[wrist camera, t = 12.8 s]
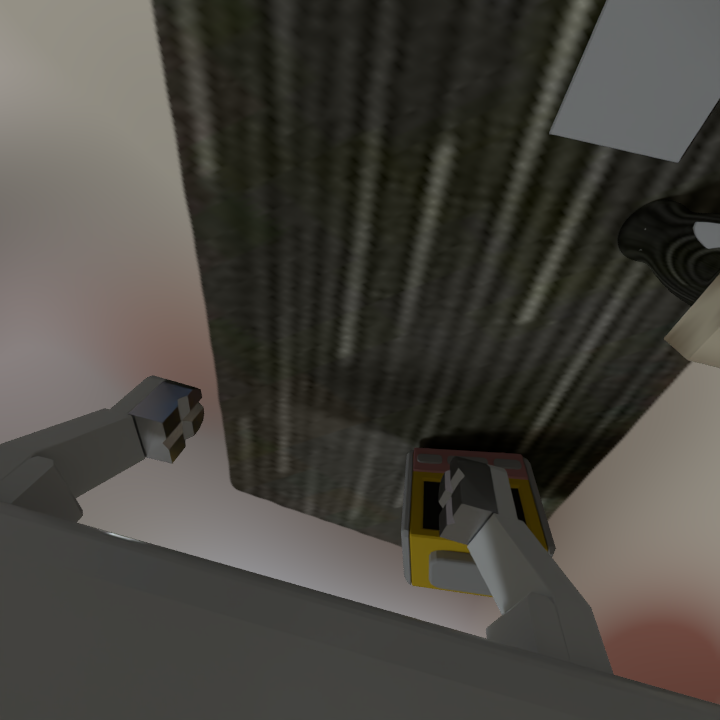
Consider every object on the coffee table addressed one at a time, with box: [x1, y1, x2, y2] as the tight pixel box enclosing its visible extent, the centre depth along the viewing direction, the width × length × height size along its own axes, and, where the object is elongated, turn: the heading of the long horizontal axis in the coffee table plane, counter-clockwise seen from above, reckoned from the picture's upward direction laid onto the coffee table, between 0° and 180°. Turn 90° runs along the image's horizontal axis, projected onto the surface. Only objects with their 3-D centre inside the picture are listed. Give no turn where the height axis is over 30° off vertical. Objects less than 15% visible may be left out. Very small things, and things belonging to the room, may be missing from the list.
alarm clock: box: [401, 448, 556, 597], centre depth 53 cm, size 20×16×18 cm
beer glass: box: [618, 200, 720, 306], centre depth 29 cm, size 7×7×15 cm
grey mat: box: [549, 0, 720, 162], centre depth 28 cm, size 12×12×1 cm
